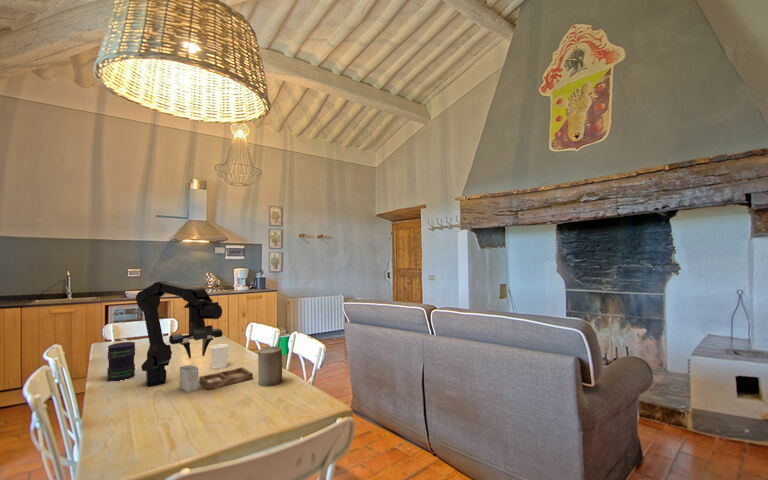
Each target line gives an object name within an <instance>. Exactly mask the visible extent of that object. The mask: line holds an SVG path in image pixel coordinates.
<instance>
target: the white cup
mask: <svg viewBox="0 0 768 480" xmlns="http://www.w3.org/2000/svg"><path fill="white" fill-rule="evenodd" d="M209 349H210V362H211V369H213V370H220V369H224V368H226V367H228V358H229V344H228V343H218V344H214V345H211V346H210V348H209Z"/></svg>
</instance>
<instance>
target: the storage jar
mask: <svg viewBox="0 0 768 480" xmlns="http://www.w3.org/2000/svg"><path fill="white" fill-rule="evenodd" d="M135 345H136V342H134V341H125V342H123V341H121V342H117V343H113V344H110V345H107V348H108V350H107V360H108V367H107V382H110V381H117V382H121V381H120V380H123V381H126V380H125V379H127V380H130V379H132V377H133V378H135V371H136V364H135V355H136V346H135ZM129 378H130V379H129Z"/></svg>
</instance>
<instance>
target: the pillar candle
mask: <svg viewBox="0 0 768 480" xmlns="http://www.w3.org/2000/svg"><path fill="white" fill-rule="evenodd" d="M257 355H258V357H257V358H258V362H257V364H258V365H257V366H258V370H257V371H258V372H257V374H258V376H257V377H258V385H260V386H262V387H270V386H271V387H272V386H276V385H278V384H281V383H282V382H283V348H282V347H281V346H272V345H271V346H266V347H261V348H259V349H258V350H257Z"/></svg>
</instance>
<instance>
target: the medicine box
mask: <svg viewBox="0 0 768 480" xmlns="http://www.w3.org/2000/svg"><path fill="white" fill-rule="evenodd" d="M199 384H200V383H199V368H198V367H197V366H195V365H193V364H186V365H183V366H180V367H179V389H181V390H182V391H184V392H186V393H191V392H194V391H197V390H199V388H200V387H199Z"/></svg>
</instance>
